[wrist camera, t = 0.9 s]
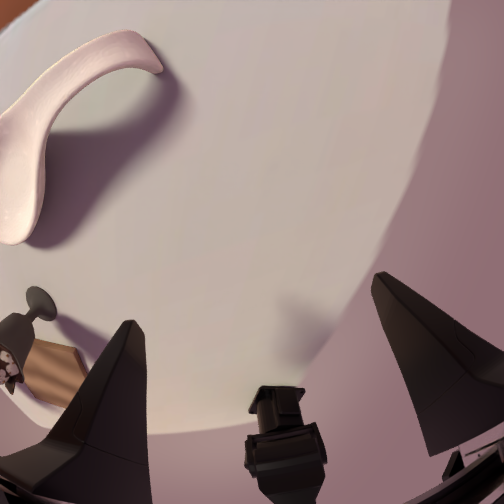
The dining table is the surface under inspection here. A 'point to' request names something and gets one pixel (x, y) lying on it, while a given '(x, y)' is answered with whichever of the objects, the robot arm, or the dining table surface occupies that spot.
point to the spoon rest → (43, 116)
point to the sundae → (21, 336)
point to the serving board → (53, 372)
